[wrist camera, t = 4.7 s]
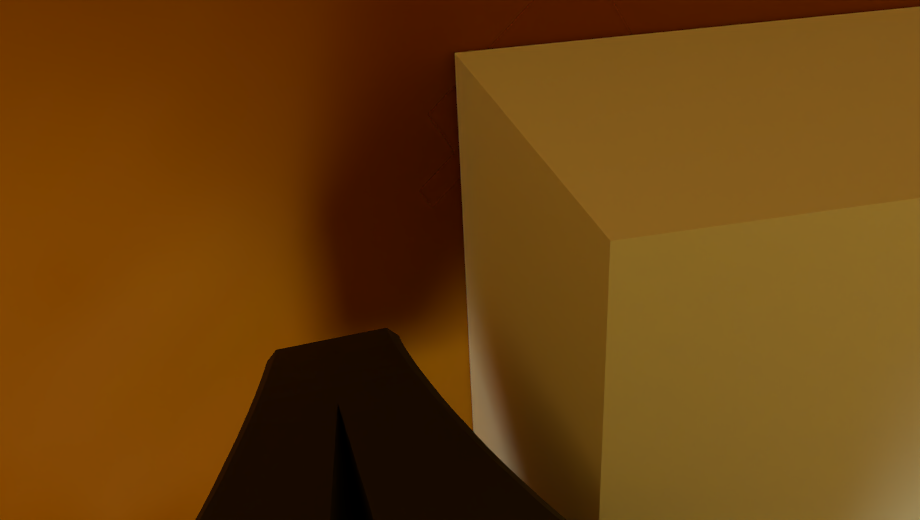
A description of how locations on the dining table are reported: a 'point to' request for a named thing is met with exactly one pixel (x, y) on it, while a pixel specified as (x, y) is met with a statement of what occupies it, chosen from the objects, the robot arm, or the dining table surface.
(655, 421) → the block
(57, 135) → the dining table surface
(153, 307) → the dining table surface
